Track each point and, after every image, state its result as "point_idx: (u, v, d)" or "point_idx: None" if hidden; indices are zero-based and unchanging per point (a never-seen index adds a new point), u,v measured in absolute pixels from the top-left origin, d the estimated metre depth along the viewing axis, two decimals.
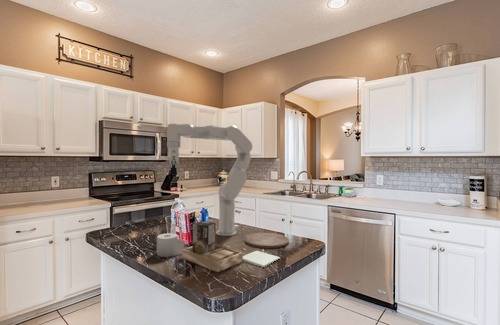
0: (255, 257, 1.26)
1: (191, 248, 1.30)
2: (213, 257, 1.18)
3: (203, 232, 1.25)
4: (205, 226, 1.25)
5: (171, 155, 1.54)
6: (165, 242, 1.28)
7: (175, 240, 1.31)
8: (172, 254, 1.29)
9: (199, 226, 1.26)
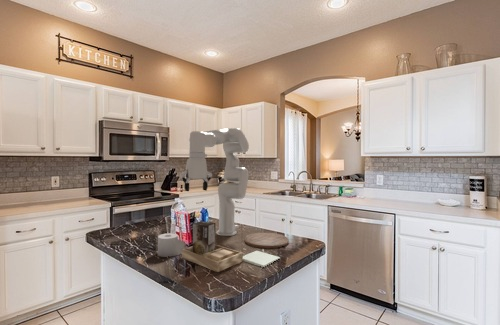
0: (255, 257, 1.26)
1: (191, 248, 1.30)
2: (212, 257, 1.19)
3: (203, 232, 1.25)
4: (205, 226, 1.25)
5: None
6: (166, 242, 1.28)
7: (176, 240, 1.31)
8: (173, 254, 1.29)
9: (199, 226, 1.26)
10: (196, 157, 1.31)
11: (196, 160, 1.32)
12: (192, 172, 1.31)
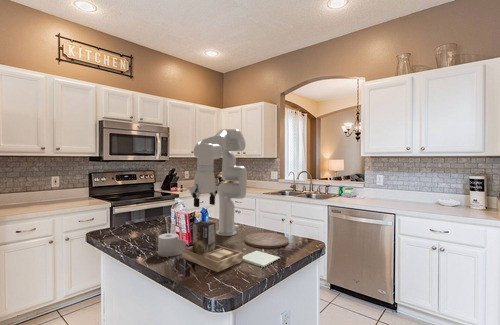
0: (255, 257, 1.26)
1: (191, 248, 1.30)
2: (212, 257, 1.18)
3: (203, 232, 1.25)
4: (205, 226, 1.25)
5: None
6: (166, 242, 1.28)
7: (176, 240, 1.31)
8: (173, 254, 1.29)
9: (199, 226, 1.26)
10: (206, 171, 1.25)
11: (206, 174, 1.25)
12: (202, 186, 1.24)
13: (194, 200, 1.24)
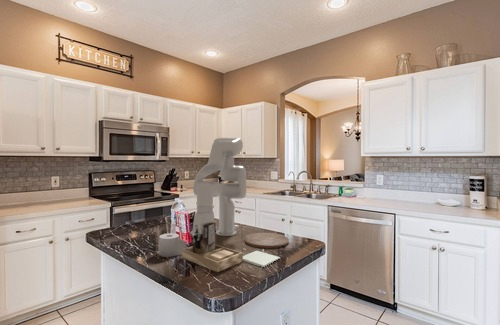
0: (255, 257, 1.26)
1: (191, 248, 1.30)
2: (213, 257, 1.18)
3: (203, 232, 1.25)
4: (205, 226, 1.25)
5: None
6: (167, 242, 1.28)
7: (177, 240, 1.31)
8: (174, 254, 1.29)
9: None
10: (206, 212, 1.25)
11: (205, 214, 1.26)
12: (202, 227, 1.25)
13: (195, 242, 1.25)
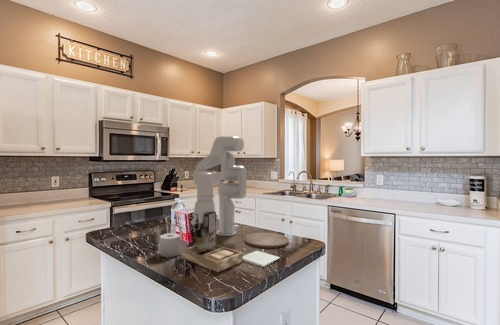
0: (255, 257, 1.26)
1: (191, 248, 1.30)
2: (213, 257, 1.18)
3: (203, 221, 1.25)
4: (205, 215, 1.25)
5: None
6: (168, 242, 1.28)
7: (178, 240, 1.31)
8: (175, 254, 1.29)
9: None
10: (206, 201, 1.25)
11: (206, 203, 1.26)
12: (202, 216, 1.25)
13: (196, 231, 1.25)
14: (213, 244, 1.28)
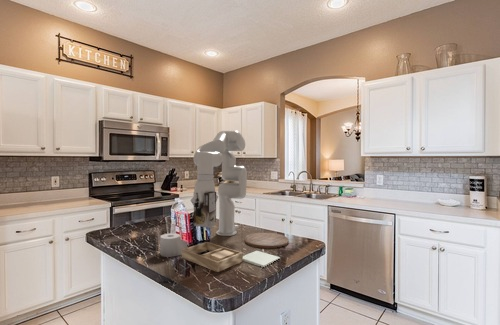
0: (255, 257, 1.26)
1: (191, 248, 1.30)
2: (213, 257, 1.18)
3: None
4: (206, 194, 1.25)
5: None
6: (168, 242, 1.28)
7: (178, 240, 1.31)
8: (175, 254, 1.29)
9: None
10: (206, 180, 1.25)
11: (206, 182, 1.26)
12: (202, 195, 1.25)
13: (196, 210, 1.25)
14: (213, 224, 1.28)
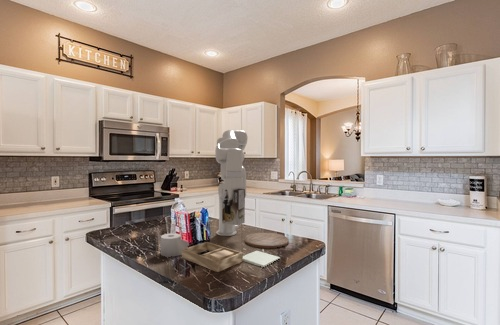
0: (255, 257, 1.26)
1: (191, 248, 1.30)
2: (213, 257, 1.18)
3: (233, 197, 1.24)
4: (235, 191, 1.23)
5: None
6: (169, 242, 1.28)
7: (179, 240, 1.31)
8: (176, 254, 1.29)
9: None
10: (236, 176, 1.24)
11: (235, 179, 1.24)
12: (232, 192, 1.23)
13: (225, 207, 1.24)
14: (242, 221, 1.26)
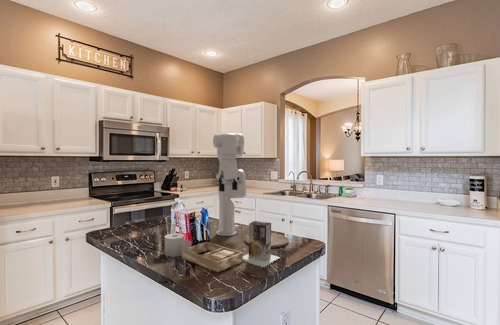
0: None
1: (191, 248, 1.30)
2: (214, 257, 1.18)
3: (260, 232, 1.23)
4: (262, 226, 1.23)
5: None
6: (173, 242, 1.28)
7: (182, 240, 1.31)
8: (180, 254, 1.30)
9: (256, 226, 1.24)
10: (231, 159, 1.37)
11: (230, 161, 1.38)
12: (227, 173, 1.37)
13: (219, 185, 1.36)
14: (269, 256, 1.25)
